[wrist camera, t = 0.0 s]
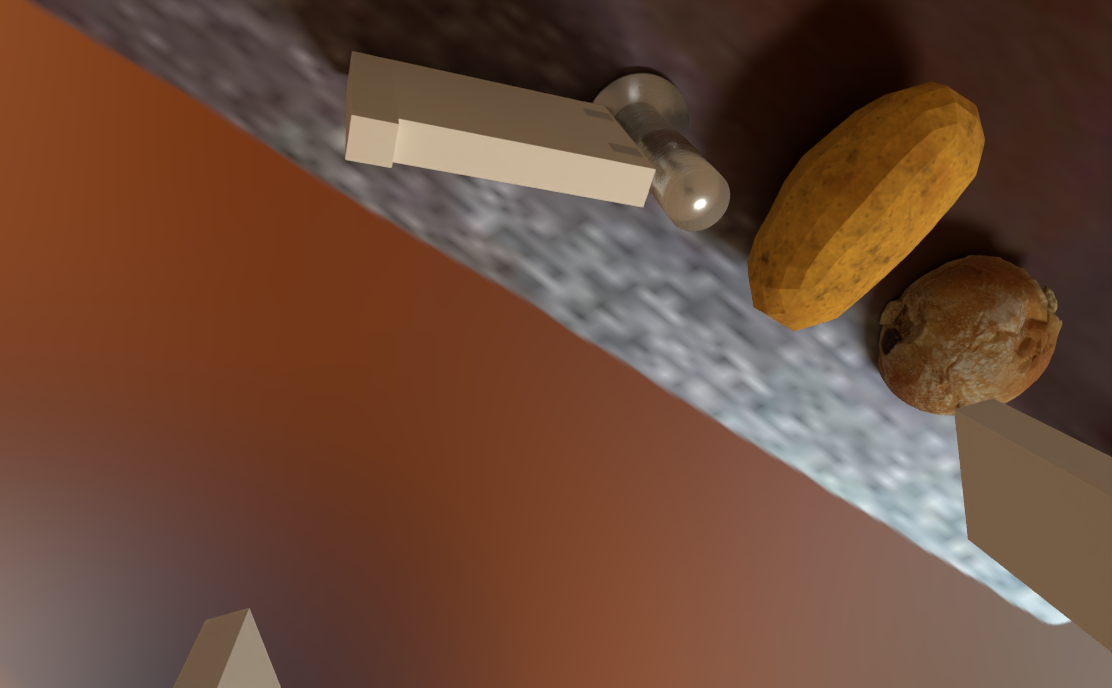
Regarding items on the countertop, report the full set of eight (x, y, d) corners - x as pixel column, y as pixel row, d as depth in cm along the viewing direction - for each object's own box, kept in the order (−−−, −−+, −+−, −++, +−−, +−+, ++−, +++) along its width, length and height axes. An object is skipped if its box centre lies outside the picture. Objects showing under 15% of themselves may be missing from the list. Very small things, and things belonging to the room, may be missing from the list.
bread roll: (889, 226, 51) (902, 288, 44) (1073, 245, 49) (1114, 313, 42) (856, 359, 56) (863, 432, 50) (1019, 381, 54) (1049, 461, 48)
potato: (687, 242, 44) (735, 306, 39) (884, 31, 40) (970, 70, 34) (775, 312, 48) (830, 380, 42) (964, 127, 44) (1053, 175, 38)
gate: (604, 104, 38) (660, 173, 31) (594, 140, 39) (647, 214, 32) (352, 49, 35) (351, 113, 28) (346, 89, 36) (344, 160, 29)
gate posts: (618, -262, 31) (739, -289, 22) (746, -248, 33) (916, -267, 23) (577, 178, 41) (649, 298, 31) (677, 177, 42) (777, 294, 32)
